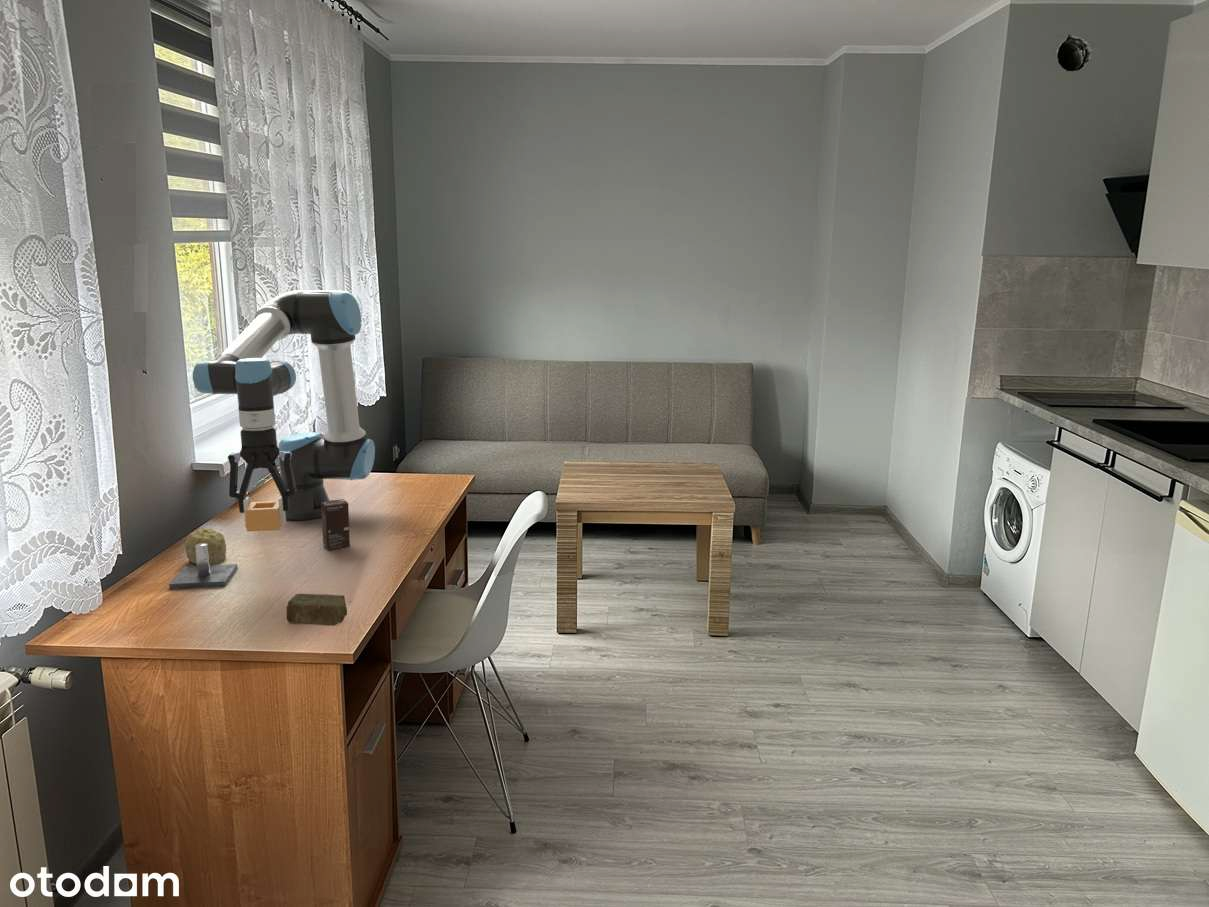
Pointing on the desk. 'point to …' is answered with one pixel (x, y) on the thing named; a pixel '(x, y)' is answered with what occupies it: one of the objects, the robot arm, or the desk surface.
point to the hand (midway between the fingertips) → (265, 524)
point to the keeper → (203, 572)
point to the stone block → (316, 609)
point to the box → (335, 524)
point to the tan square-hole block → (263, 516)
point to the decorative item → (214, 545)
